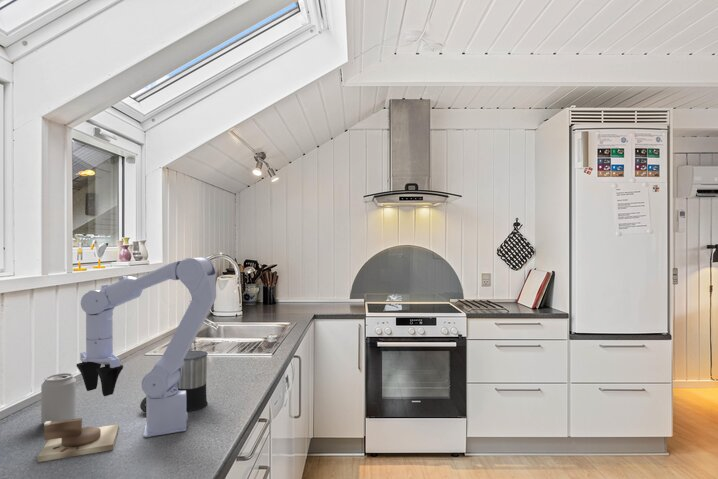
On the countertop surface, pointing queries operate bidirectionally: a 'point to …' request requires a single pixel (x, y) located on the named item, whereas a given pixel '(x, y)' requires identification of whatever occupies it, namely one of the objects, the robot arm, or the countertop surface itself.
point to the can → (58, 398)
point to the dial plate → (58, 451)
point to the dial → (71, 432)
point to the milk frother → (192, 381)
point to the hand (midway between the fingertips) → (99, 392)
